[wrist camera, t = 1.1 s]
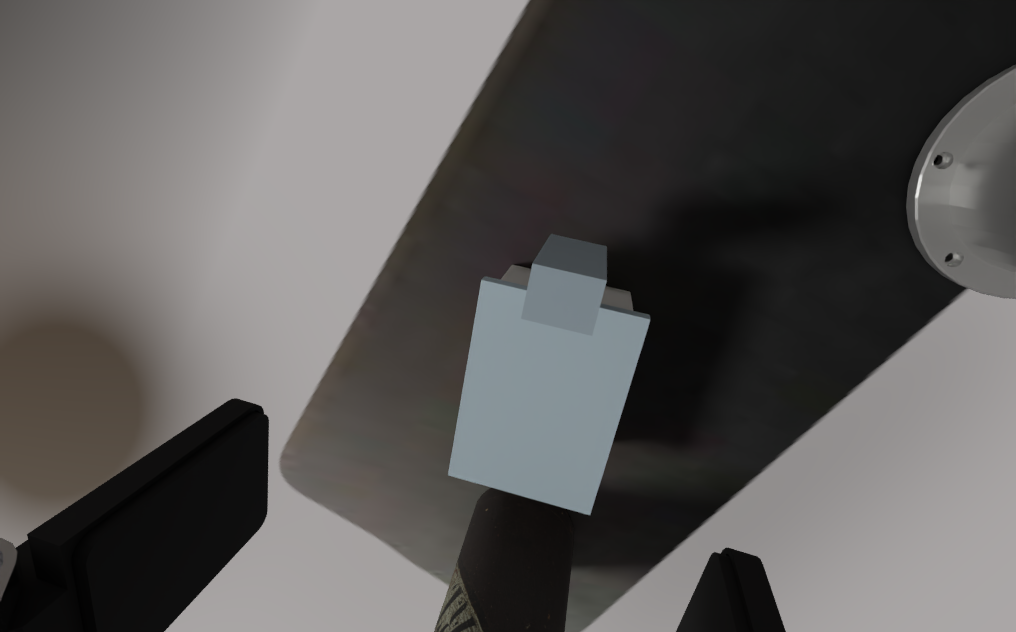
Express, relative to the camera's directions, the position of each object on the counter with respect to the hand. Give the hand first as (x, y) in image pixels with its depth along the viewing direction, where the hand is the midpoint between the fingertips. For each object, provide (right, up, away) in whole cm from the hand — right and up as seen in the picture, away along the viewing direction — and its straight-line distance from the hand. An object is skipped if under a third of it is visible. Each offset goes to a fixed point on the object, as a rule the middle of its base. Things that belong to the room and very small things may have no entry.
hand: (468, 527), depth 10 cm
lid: (+3, +1, +20) cm, 20 cm away
